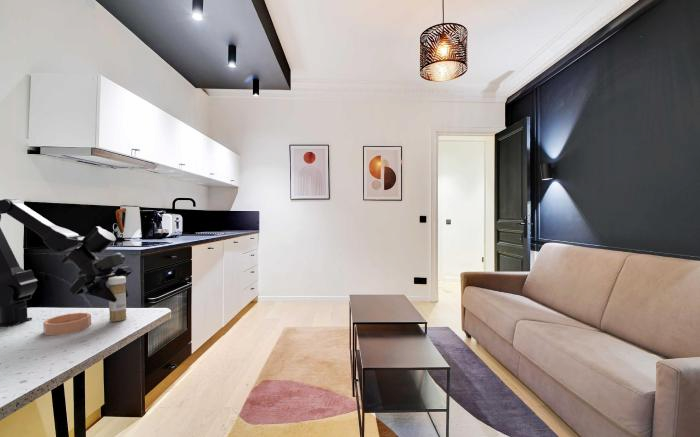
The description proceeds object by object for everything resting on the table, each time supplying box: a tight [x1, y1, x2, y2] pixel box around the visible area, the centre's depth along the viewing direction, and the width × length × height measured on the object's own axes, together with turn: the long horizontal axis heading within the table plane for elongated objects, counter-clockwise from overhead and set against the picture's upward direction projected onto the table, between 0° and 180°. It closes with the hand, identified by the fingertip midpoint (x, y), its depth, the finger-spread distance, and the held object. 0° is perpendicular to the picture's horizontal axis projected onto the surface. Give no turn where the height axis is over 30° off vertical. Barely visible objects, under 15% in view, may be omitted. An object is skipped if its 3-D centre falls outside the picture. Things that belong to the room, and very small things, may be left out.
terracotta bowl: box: [43, 312, 92, 336], centre depth 96 cm, size 10×10×3 cm
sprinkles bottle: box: [107, 276, 127, 322], centre depth 103 cm, size 5×5×13 cm
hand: (121, 299), depth 103 cm, fingers closed on sprinkles bottle, 4 cm apart
